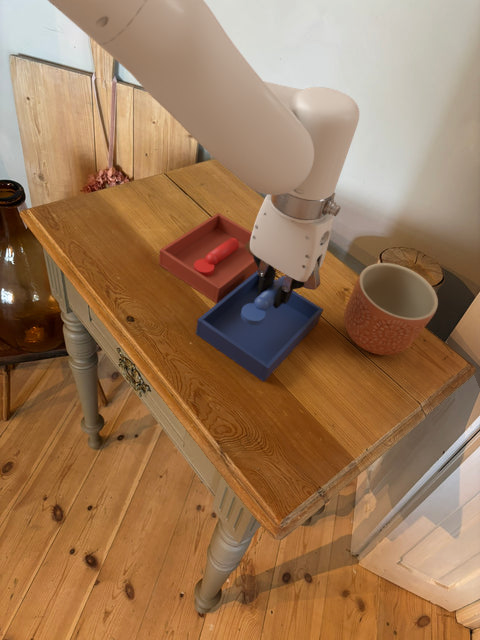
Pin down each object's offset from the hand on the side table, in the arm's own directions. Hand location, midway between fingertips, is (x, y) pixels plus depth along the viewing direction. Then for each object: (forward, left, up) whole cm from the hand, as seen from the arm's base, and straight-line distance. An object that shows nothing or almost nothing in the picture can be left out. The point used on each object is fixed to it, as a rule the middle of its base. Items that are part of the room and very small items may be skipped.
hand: (272, 297), depth 71 cm
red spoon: (-15, +6, -6) cm, 17 cm away
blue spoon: (0, -2, 0) cm, 2 cm away
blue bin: (0, -2, -6) cm, 6 cm away
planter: (+15, +11, -6) cm, 20 cm away
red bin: (-15, +6, -6) cm, 17 cm away
